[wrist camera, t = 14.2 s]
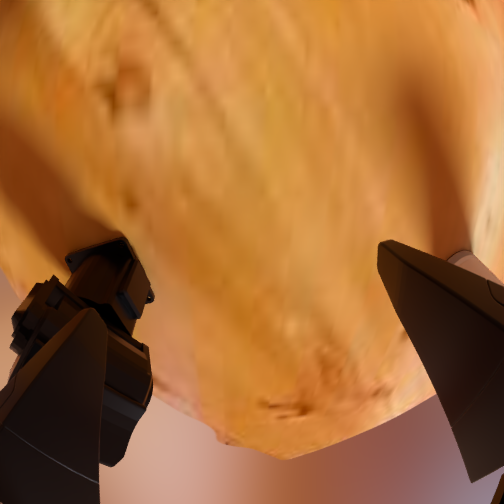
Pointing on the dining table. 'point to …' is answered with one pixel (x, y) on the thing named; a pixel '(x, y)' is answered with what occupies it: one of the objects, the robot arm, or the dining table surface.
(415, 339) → the robot arm
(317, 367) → the dining table surface
